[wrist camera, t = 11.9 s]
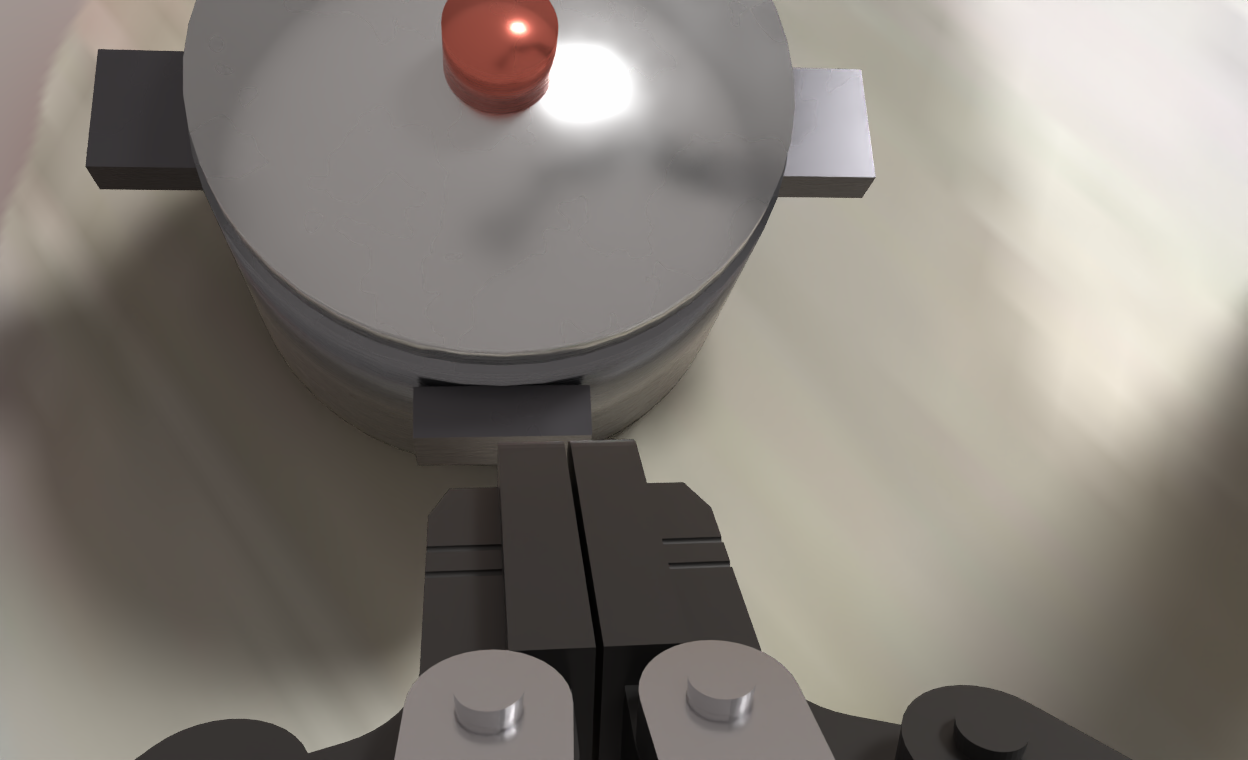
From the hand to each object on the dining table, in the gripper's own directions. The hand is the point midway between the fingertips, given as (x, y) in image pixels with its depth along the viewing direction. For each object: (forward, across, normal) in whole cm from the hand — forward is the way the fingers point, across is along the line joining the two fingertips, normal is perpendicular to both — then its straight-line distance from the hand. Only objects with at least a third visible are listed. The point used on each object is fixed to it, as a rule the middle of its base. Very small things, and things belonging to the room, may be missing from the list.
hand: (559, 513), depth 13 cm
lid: (+24, 0, +1) cm, 24 cm away
